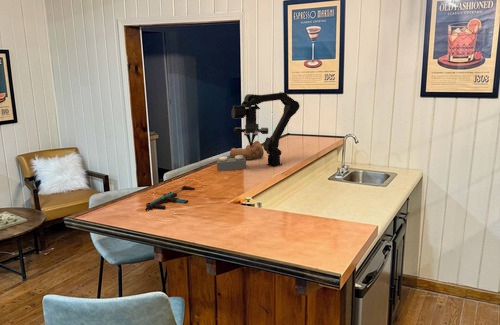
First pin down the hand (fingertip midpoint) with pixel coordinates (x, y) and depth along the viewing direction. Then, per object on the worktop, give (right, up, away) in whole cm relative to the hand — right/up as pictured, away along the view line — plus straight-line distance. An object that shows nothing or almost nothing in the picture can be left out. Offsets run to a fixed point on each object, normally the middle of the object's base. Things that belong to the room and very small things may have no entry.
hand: (251, 146), depth 225 cm
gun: (-34, -26, -41) cm, 59 cm away
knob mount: (-11, -12, +7) cm, 18 cm away
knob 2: (-6, -11, +7) cm, 15 cm away
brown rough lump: (-1, -7, +28) cm, 29 cm away
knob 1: (-15, -12, +7) cm, 20 cm away
